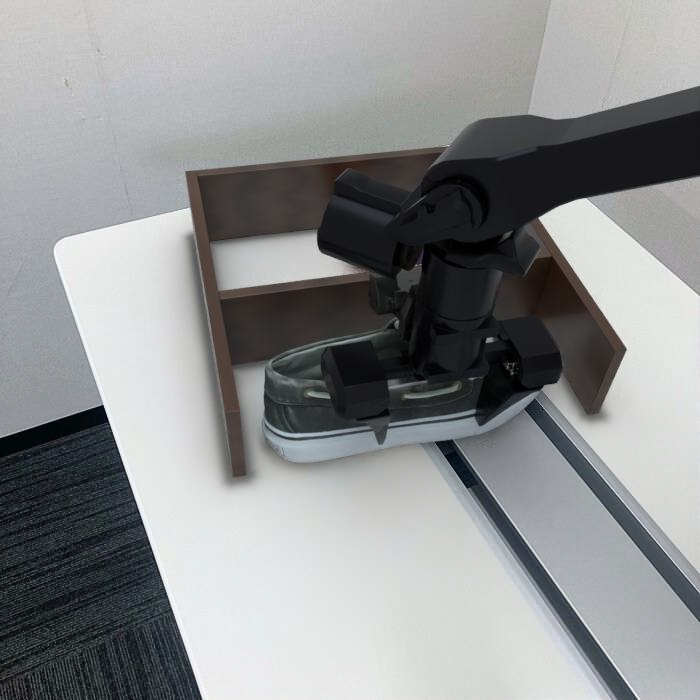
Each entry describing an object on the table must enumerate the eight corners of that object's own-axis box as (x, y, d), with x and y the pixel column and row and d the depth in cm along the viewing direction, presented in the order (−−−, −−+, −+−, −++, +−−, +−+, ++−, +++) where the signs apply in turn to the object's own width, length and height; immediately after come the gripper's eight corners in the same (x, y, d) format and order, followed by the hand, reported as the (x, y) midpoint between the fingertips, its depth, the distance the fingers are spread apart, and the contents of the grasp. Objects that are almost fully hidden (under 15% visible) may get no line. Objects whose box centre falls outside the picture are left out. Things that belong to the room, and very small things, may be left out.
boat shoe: (574, 405, 72) (594, 320, 65) (290, 503, 63) (281, 416, 57) (514, 343, 79) (527, 261, 73) (252, 423, 70) (241, 338, 64)
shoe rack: (474, 204, 96) (487, 141, 89) (599, 413, 73) (627, 349, 66) (193, 236, 89) (185, 170, 83) (232, 477, 66) (224, 412, 60)
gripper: (527, 217, 62) (492, 351, 73) (306, 244, 58) (304, 381, 69) (591, 304, 55) (542, 439, 66) (343, 342, 51) (334, 479, 61)
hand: (429, 431), depth 66 cm, fingers open, 9 cm apart
